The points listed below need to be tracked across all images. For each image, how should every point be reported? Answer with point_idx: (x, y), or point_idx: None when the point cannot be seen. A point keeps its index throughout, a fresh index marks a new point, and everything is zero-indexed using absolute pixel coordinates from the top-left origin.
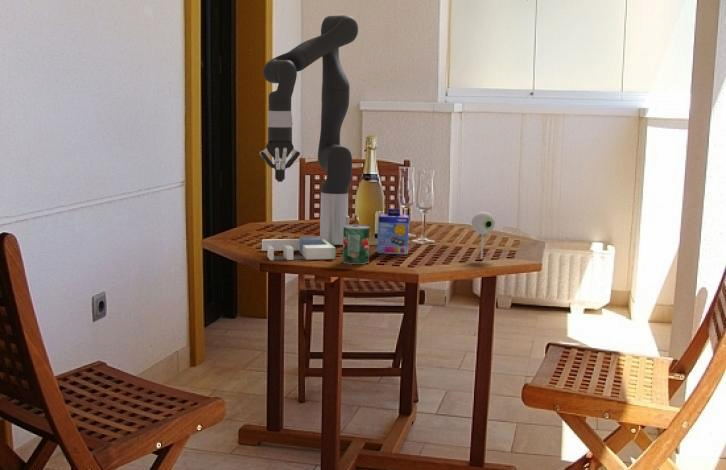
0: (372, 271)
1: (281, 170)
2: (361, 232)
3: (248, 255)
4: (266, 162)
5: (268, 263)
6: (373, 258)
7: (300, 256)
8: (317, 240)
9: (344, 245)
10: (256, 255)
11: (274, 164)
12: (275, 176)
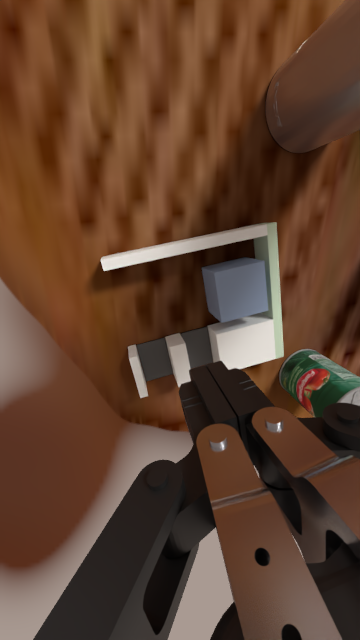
0: None
1: (251, 461)
2: None
3: (78, 334)
4: (102, 555)
5: (137, 414)
6: (341, 327)
7: (202, 338)
8: (255, 312)
9: (301, 401)
10: (98, 331)
11: (206, 534)
12: (185, 406)
